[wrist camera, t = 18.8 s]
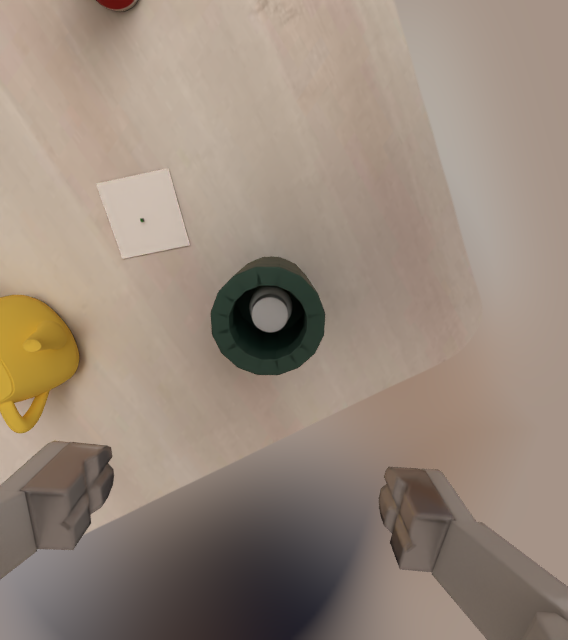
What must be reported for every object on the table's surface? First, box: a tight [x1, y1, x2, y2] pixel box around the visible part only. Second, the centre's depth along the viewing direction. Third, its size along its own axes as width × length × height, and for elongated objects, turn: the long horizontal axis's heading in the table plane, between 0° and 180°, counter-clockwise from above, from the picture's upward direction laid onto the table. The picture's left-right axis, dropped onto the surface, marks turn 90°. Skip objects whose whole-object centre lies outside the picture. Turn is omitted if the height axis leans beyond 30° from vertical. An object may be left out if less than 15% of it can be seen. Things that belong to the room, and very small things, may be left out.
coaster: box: [96, 168, 190, 259], centre depth 30 cm, size 8×8×1 cm
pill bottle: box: [249, 286, 292, 332], centre depth 29 cm, size 4×4×8 cm
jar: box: [211, 257, 325, 375], centre depth 28 cm, size 9×9×11 cm
